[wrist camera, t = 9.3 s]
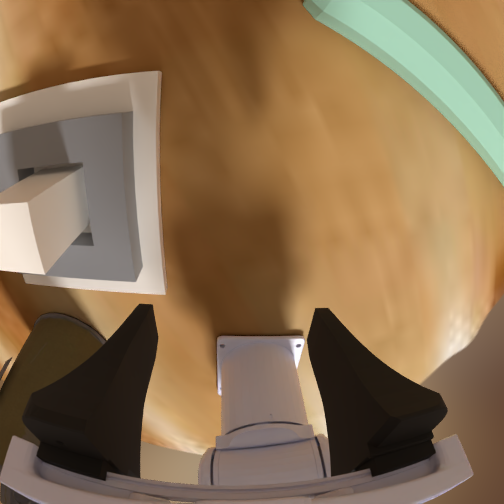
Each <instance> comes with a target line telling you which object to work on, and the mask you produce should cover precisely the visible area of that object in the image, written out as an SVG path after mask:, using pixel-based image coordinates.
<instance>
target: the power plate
mask: <svg viewBox="0 0 504 504" xmlns="http://www.w3.org/2000/svg"><path fill="white" fill-rule="evenodd" d="M161 79H162V72H160V71H148V72H137V73H127V74H119V75H111V76H104V77H98V78H92V79H86V80H81V81H76V82H71V83H66V84H62V85H57V86H53V87H49V88H45V89H41V90H38V91H34V92H31V93H27V94H24V95H20V96H17V97H14V98H11V99H8V100H5V101H2V102H0V193H1V192H3V191H4V190H6V189H8V188H9V187H11V186H13V185H14V184H16V183H18V182H20V181H21V180H23V179H25V178H27V177H28V176H30V175H32V174H34V173H36V172H38V171H40V170H42V169H49V168H59V167H69V166H81V165H83V171H84V181H85V191H86V199H87V206H88V213H89V220H90V224H89V225H88V226H87V227H86V228H85V229H84V230H83V231H82V232H81V234H80V235H79V236H78V237H77V238H76V239H75V240H74V241H73V242H72V244H71V245H70V246H69V247H68V248H67V249H66V250H65V252H64V253H63V254H62V255H61V256H60V257H59V259H58V260H57V261H56V262H55V263H54V264H53V266H52V267H51V268H50V269H49V271H48V272H47V273H46V274H45V275H43V274H32V273H22V272H18V273H21V274H23V277H24V280H25V283H27V284H36V285H45V286H55V287H65V288H76V289H87V290H99V291H112V292H127V293H142V294H160V295H165V294H166V291H167V278H166V267H165V256H164V243H163V229H162V212H161V188H160V101H161Z"/></svg>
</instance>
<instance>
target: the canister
mask: <svg viewBox="0 0 504 504" xmlns="http://www.w3.org/2000/svg"><path fill="white" fill-rule="evenodd" d="M105 342H106V341H105V340H104V339H103V338H102V337H101V336H100V335H99V334H98V333H97V332H96V331H95V330H94V329H92V328H91V327H89V326H88V325H86V324H84V323H83V322H81V321H79V320H77V319H76V318H73V317H69V316H66V315H63V314H59V313H48V314H44V315H41V316H40V317H39V318H38V319H37V320H36V322H35V324H34V328H33V330H32V332H31V333H30V335H29V337H28V339H27V340H26V342H25V344H24V346H23V347H22V349H21V351H20V353H19V354H18V356H17V358H16V360H15V362H14V364H13V366H12V368H11V370H10V371H9V373H8V375H7V377H6V379H5V381H4V384H3V386H2V388H1V390H0V475H1V471H2V468H3V464H4V461H5V458H6V454H7V451H8V448H9V445H10V442H11V439H12V436H17V437H19V438H21V439H24V440H26V441H28V442H31V443H33V444H35V445H36V446H38V447H39V445H40V442H41V441H40V440H39V439H38V438H37V437H36V436H35V435H34V434H33V433H32V432H31V431H30V430H29V429H28V428H27V427H26V426H25V425H24V423H23V421H22V415H23V413H24V410H25V407H26V405H27V402H28V400H29V398H30V396H31V394H32V393H33V392H35V391H38V390H40V389H42V388H44V387H46V386H48V385H50V384H52V383H54V382H55V381H57V380H59V379H61V378H62V377H64V376H65V375H67V374H68V373H70V372H71V371H73V370H74V369H75V368H77V367H78V366H80V365H81V364H82V363H84V362H85V361H86V360H87V359H88V358H90V357H91V356H92V355H93V354H94V353H95V352H96V351H97V350H98V349H99V348H100V347H101V346H102V345H103V344H104V343H105ZM11 359H12V358H10V359H9V360H7V361H6V362H5V364H4V366H3V368H2V370H1V372H0V380H1V378H2V376H3V374H4V372H5V370H6V368H7V366H8V365H9V363H10V361H11ZM0 495H1V496H0V501H1V503H2V504H39V503H37V502H35V501H32V500H30V499H28V498H27V497H25V496H23V495H21V494H19V493H18V492H16V491H14V490H13V489H11V488H9V487H8V486H6V485H5V484H3V483H1V492H0Z"/></svg>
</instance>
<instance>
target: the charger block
mask: <svg viewBox="0 0 504 504" xmlns="http://www.w3.org/2000/svg"><path fill="white" fill-rule="evenodd" d="M89 224H90V220H89V213H88V206H87V199H86V191H85V181H84V171H83V165H81V166H69V167H59V168H49V169H42V170H40V171H38V172H36V173H34V174H32V175H30V176H28V177H27V178H25V179H23V180H21V181H20V182H18V183H16V184H14V185H13V186H11V187H9V188H8V189H6V190H4V191H3V192H1V193H0V270H2V271H11V272H22V273H32V274H43V275H45V274H46V273H47V272H48V271H49V269H50V268H51V267H52V266H53V264H54V263H55V262H56V261H57V260H58V259H59V257H60V256H61V255H62V254H63V253H64V252H65V250H66V249H67V248H68V247H69V246H70V245H71V244H72V242H73V241H74V240H75V239H76V238H77V237H78V236H79V235H80V234H81V232H82V231H83V230H84V229H85V228H86V227H87V226H88V225H89Z"/></svg>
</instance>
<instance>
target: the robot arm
mask: <svg viewBox="0 0 504 504" xmlns="http://www.w3.org/2000/svg"><path fill="white" fill-rule="evenodd" d="M304 342H305V339H304V337H303V336H220V337H218V338H217V376H218V394H219V395H221V434H222V436H216V447H211V448H208V449H207V450H206V452H205V453H204V454H203V456H202V457H201V460H200V463H199V471H198V482H199V485H194V484H181V483H171V482H162V481H155V480H148V479H141V478H140V446H141V430H142V418H143V409H144V402H145V397H146V393H147V389H148V385H149V381H150V377H151V373H152V369H153V366H154V362H155V358H156V351H157V344H158V333H157V327H156V322H155V316H154V310H153V305H151V304H139V305H138V306H137V307H136V308H135V309H134V311H133V312H132V313H131V314H130V315H129V317H128V318H127V319H126V320H125V321H124V323H123V324H122V325H121V326H120V327H119V328H118V329H117V331H116V332H115V333H114V334H113V335H112V336H111V337H110V338H109V339H108V340H107V341H106V342H105V343H104V344H103V345H102V346H101V347H100V348H99V349H98V350H97V351H96V352H95V353H94V354H93V355H92V356H91V357H90V358H88V359H87V360H86V361H85V362H84V363H82V364H81V365H80V366H78V367H77V368H75V369H74V370H73V371H71V372H70V373H68V374H67V375H65V376H64V377H62V378H61V379H59V380H57V381H55V382H54V383H52V384H50V385H48V386H46V387H44V388H42V389H40V390H38V391H35V392H33V393H32V394H31V396H30V398H29V400H28V402H27V405H26V407H25V410H24V413H23V415H22V421H23V423H24V425H25V426H26V427H27V428H28V429H29V430H30V431H31V432H32V433H33V434H34V435H35V436H36V437H37V438H38V439H39V440H40V441H41V442H40V445H39V447H38V446H36V445H35V444H33V443H31V442H28V441H26V440H24V439H21V438H19V437H17V436H12V439H11V442H10V445H9V448H8V451H7V454H6V458H5V461H4V464H3V468H2V471H1V475H0V482H1V483H3V484H5V485H6V486H8V487H9V488H11V489H13V490H14V491H16V492H18V493H19V494H21V495H23V496H25V497H27V498H28V499H30V500H32V501H35V502H37V503H39V504H422V503H424V502H427V501H429V500H431V499H433V498H435V497H437V496H439V495H441V494H443V493H445V492H447V491H448V490H450V489H452V488H454V487H455V486H457V485H459V484H460V483H462V482H464V481H465V480H467V479H468V478H470V477H471V476H473V471H472V469H471V467H470V464H469V462H468V459H467V457H466V454H465V452H464V450H463V447H462V445H461V443H460V441H459V438H458V436H457V434H454V435H452V436H449V437H447V438H445V439H442V440H440V441H438V442H436V443H434V444H432V441H431V439H432V438H433V437H434V436H433V433H432V430H433V429H434V428H435V427H436V426H437V425H438V424H439V423H440V422H441V421H442V420H443V418H444V417H445V415H446V414H447V407H446V405H445V403H444V401H443V399H442V397H441V395H440V394H439V393H437V392H434V391H432V390H430V389H427V388H425V387H422V386H420V385H419V384H417V383H415V382H413V381H411V380H409V379H407V378H406V377H404V376H402V375H401V374H399V373H398V372H396V371H395V370H393V369H392V368H390V367H389V366H387V365H386V364H385V363H383V362H382V361H381V360H380V359H378V358H377V357H376V356H375V355H373V354H372V353H371V352H370V351H369V350H368V349H367V348H366V347H365V346H363V345H362V344H361V343H360V342H359V341H358V340H357V339H356V338H355V337H354V336H353V335H352V334H351V333H350V331H349V330H348V329H347V328H346V327H345V326H344V325H343V324H342V323H341V322H340V321H339V319H338V318H337V317H336V316H335V315H334V314H333V313H332V312H331V311H330V309H329V308H315V312H314V315H313V319H312V323H311V327H310V330H309V334H308V338H307V344H308V351H309V356H310V361H311V365H312V368H313V371H314V375H315V378H316V381H317V385H318V388H319V391H320V395H321V398H322V402H323V406H324V412H325V418H326V425H327V432H328V438H327V437H325V436H324V435H323V434H317V435H315V436H314V432H313V427H312V425H311V424H310V425H308V420H307V415H306V411H305V406H304V401H303V397H302V392H301V387H300V383H299V378H298V373H297V367H298V363H299V360H300V356H301V353H302V349H303V346H304ZM221 344H224V345H221ZM297 344H298V345H297ZM169 500H172V501H181V502H193V503H170V501H169Z"/></svg>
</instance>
